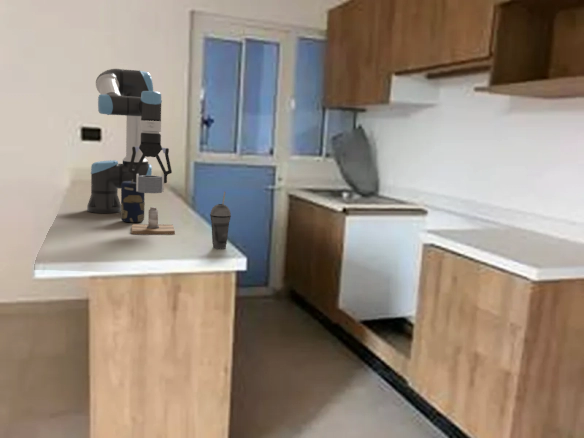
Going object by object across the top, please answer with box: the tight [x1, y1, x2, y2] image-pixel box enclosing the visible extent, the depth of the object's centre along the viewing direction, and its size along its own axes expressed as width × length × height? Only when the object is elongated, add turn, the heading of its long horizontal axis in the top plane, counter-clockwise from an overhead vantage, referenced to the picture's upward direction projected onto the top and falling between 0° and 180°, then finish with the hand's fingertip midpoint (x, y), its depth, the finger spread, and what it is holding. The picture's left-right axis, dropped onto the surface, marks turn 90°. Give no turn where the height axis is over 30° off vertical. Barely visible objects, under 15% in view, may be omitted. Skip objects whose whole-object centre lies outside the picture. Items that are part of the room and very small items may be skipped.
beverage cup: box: [209, 191, 232, 250], centre depth 190 cm, size 7×7×20 cm
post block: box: [131, 206, 176, 235], centre depth 215 cm, size 14×16×9 cm
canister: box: [120, 179, 146, 223], centre depth 231 cm, size 10×10×18 cm
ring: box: [138, 174, 163, 194], centre depth 212 cm, size 9×9×6 cm
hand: (150, 191), depth 212 cm, fingers closed on ring, 9 cm apart
